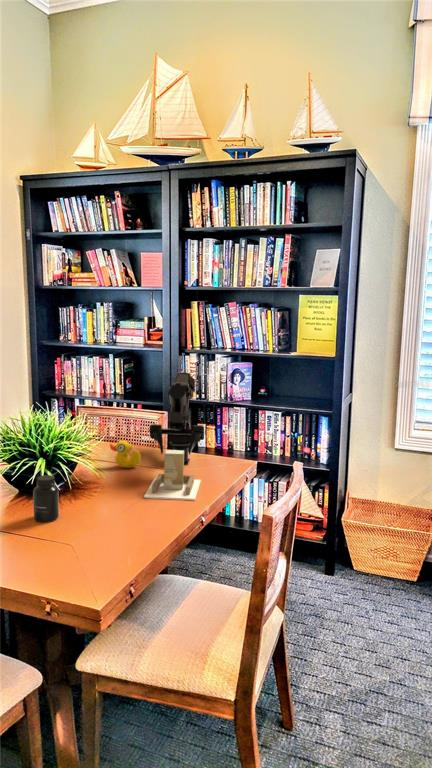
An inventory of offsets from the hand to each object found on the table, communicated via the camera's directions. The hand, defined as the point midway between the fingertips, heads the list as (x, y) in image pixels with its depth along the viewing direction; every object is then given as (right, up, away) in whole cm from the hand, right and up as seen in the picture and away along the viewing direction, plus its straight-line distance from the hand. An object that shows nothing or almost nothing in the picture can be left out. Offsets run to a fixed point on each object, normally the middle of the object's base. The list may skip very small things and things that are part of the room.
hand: (175, 453), depth 187 cm
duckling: (-20, -7, +17) cm, 27 cm away
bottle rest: (0, -11, -5) cm, 12 cm away
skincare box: (0, -11, -5) cm, 12 cm away
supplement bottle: (-34, -15, -30) cm, 48 cm away
